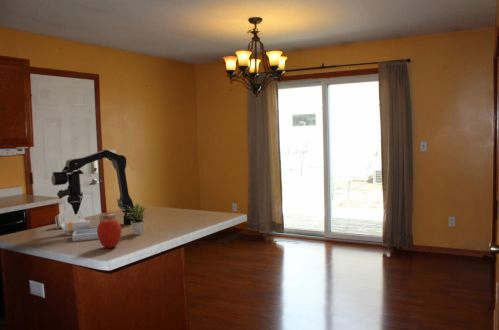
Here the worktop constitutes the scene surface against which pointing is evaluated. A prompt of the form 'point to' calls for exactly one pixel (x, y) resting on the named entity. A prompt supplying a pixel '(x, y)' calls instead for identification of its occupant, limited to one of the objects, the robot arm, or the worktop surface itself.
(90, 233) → the tray
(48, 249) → the worktop surface
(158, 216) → the worktop surface
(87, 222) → the beige and orange bar
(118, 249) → the worktop surface
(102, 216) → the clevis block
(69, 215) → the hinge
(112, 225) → the red jar
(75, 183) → the robot arm
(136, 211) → the house plant
